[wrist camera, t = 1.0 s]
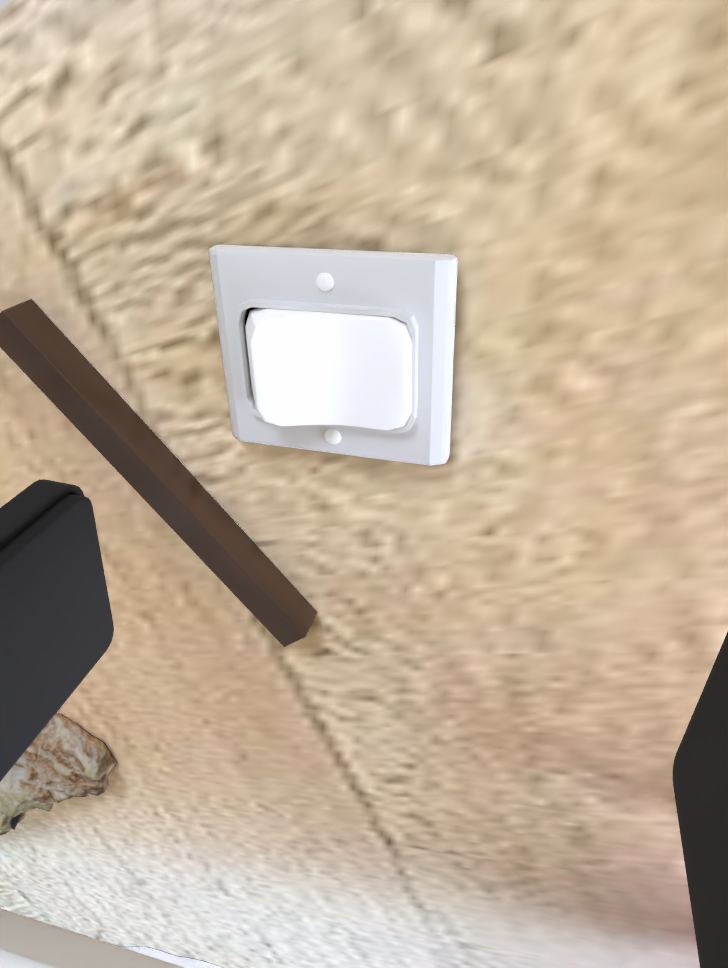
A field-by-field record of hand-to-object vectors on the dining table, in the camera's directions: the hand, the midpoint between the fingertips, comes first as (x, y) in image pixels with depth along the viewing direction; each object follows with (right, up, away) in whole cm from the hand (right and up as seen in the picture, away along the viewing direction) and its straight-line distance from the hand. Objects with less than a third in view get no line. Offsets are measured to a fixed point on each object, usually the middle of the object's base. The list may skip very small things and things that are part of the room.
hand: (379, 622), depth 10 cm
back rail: (-12, +3, +34) cm, 36 cm away
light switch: (-2, +9, +27) cm, 29 cm away
